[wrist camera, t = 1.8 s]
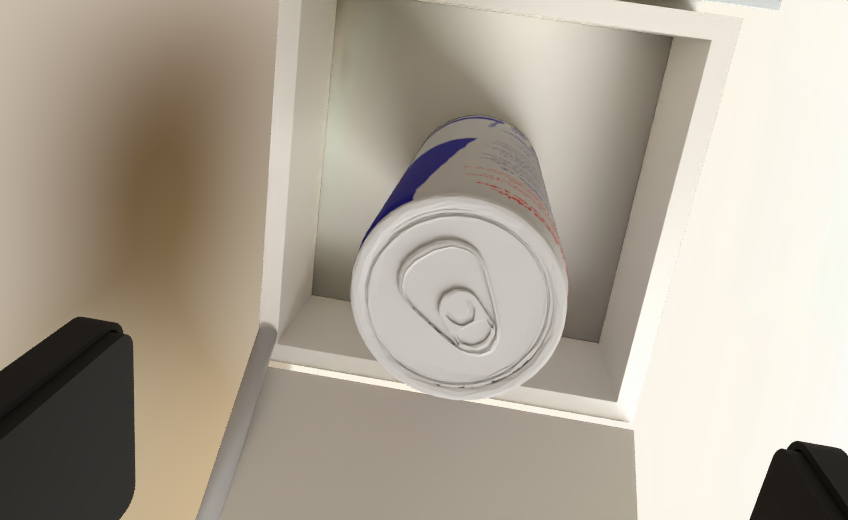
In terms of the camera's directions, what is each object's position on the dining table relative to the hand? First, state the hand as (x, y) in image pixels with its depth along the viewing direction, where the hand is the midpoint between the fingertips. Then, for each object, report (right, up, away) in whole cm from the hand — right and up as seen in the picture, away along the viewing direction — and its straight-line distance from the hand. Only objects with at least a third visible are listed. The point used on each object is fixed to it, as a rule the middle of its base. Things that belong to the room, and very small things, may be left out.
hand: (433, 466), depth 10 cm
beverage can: (+2, +7, +21) cm, 22 cm away
